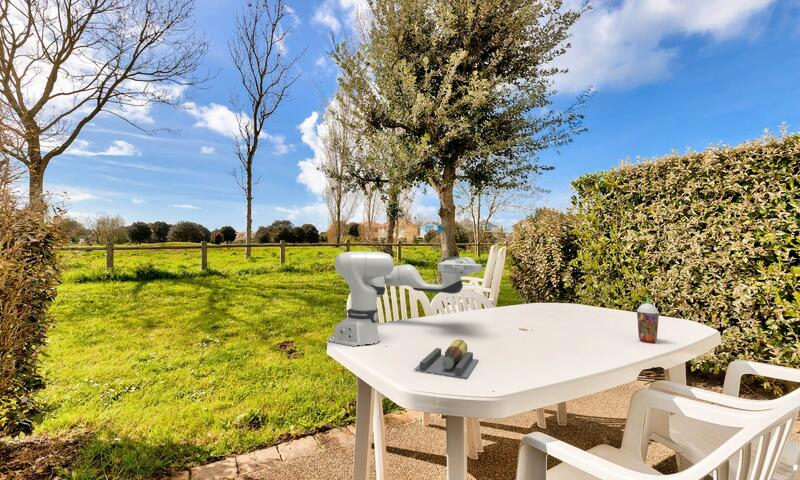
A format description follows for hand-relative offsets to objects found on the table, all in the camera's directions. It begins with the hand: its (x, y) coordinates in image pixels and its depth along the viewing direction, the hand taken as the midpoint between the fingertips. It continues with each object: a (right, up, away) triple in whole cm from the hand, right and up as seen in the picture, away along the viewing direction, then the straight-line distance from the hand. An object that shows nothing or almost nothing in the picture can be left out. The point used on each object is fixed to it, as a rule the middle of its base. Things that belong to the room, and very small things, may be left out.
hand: (456, 268), depth 164 cm
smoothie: (+87, -33, +1) cm, 93 cm away
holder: (-8, -31, -36) cm, 48 cm away
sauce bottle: (-2, -28, -25) cm, 37 cm away
